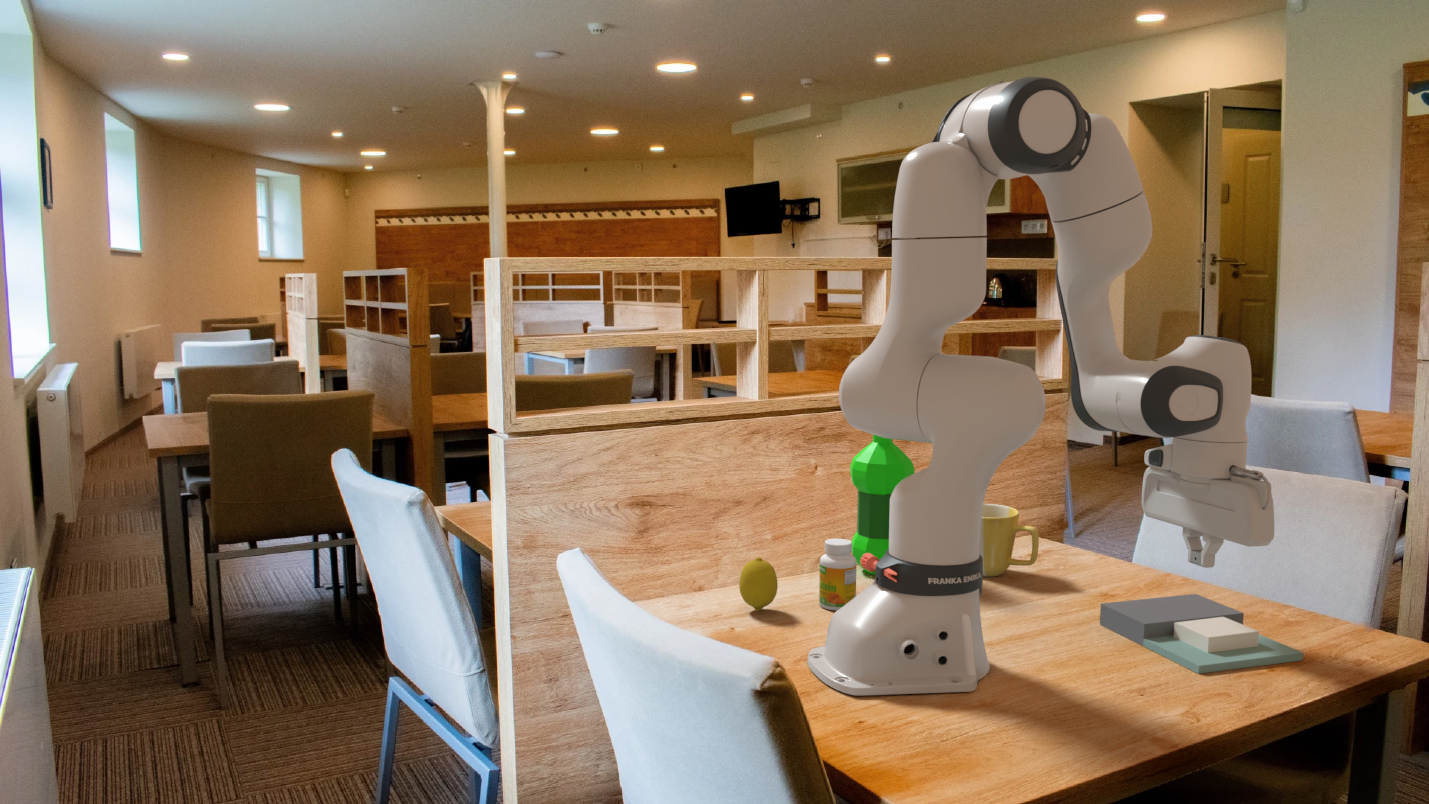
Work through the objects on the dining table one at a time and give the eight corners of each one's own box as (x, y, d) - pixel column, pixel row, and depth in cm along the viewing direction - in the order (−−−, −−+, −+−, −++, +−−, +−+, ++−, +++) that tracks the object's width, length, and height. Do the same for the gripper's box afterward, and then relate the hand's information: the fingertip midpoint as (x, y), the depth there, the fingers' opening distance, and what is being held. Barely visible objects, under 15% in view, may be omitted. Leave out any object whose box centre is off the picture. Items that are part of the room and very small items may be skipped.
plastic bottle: (905, 562, 177) (909, 417, 174) (915, 580, 166) (919, 425, 163) (846, 561, 177) (849, 416, 174) (852, 579, 167) (855, 425, 164)
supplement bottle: (811, 605, 154) (812, 541, 153) (835, 597, 157) (836, 535, 156) (838, 614, 150) (839, 548, 149) (863, 606, 153) (864, 542, 152)
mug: (940, 570, 172) (941, 508, 170) (977, 560, 178) (979, 500, 177) (1011, 590, 161) (1013, 524, 160) (1048, 578, 168) (1050, 514, 167)
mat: (1198, 673, 127) (1198, 665, 127) (1143, 646, 137) (1143, 638, 137) (1302, 660, 132) (1303, 652, 132) (1242, 634, 141) (1242, 627, 141)
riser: (1143, 646, 137) (1144, 624, 136) (1099, 624, 145) (1100, 603, 145) (1242, 634, 141) (1243, 613, 141) (1194, 614, 150) (1195, 593, 149)
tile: (1207, 652, 131) (1208, 637, 131) (1173, 637, 137) (1174, 622, 137) (1257, 646, 134) (1258, 631, 134) (1222, 631, 140) (1223, 616, 139)
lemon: (755, 619, 147) (755, 564, 146) (731, 609, 152) (731, 556, 151) (785, 612, 150) (785, 558, 150) (761, 602, 155) (761, 550, 154)
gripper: (1292, 473, 126) (1283, 584, 127) (1174, 449, 146) (1167, 546, 147) (1249, 474, 124) (1241, 587, 125) (1136, 450, 144) (1129, 548, 145)
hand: (1200, 565), depth 136 cm, fingers closed
